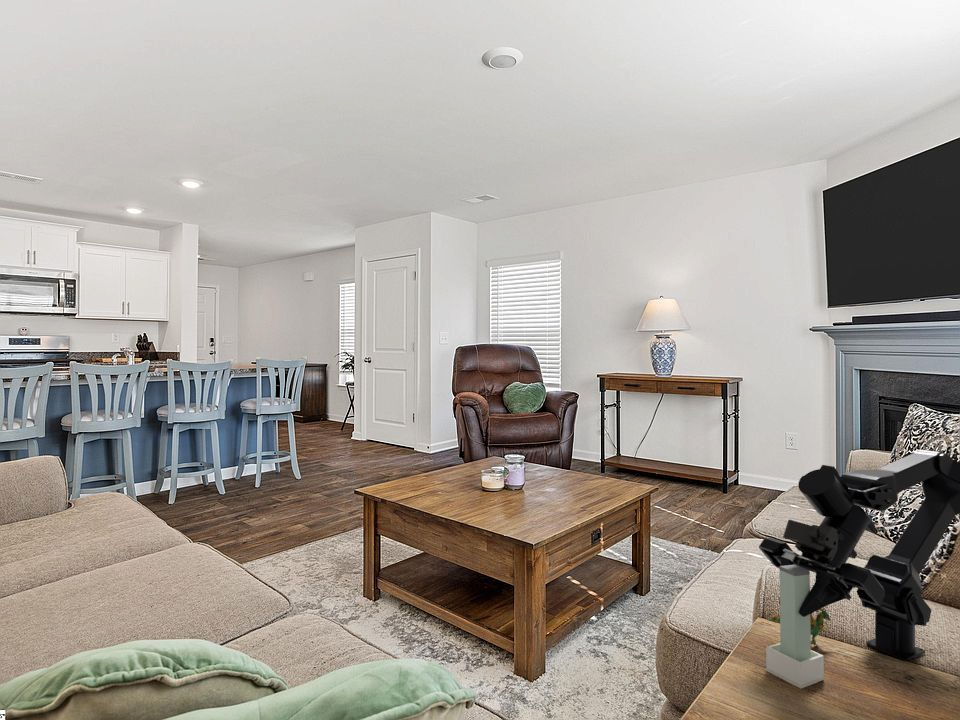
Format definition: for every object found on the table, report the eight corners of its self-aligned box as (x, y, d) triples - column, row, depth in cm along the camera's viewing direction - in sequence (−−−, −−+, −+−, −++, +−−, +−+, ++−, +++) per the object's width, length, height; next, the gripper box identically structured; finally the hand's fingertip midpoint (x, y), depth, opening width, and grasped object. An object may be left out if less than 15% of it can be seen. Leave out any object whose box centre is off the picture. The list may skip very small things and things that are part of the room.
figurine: (836, 648, 98) (836, 601, 99) (773, 650, 97) (773, 603, 97) (824, 640, 101) (823, 594, 102) (762, 642, 100) (762, 596, 100)
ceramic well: (788, 662, 93) (788, 639, 93) (823, 679, 88) (823, 655, 88) (766, 670, 90) (766, 647, 91) (800, 688, 85) (800, 663, 85)
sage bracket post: (795, 650, 91) (794, 564, 92) (810, 659, 88) (809, 570, 89) (780, 652, 90) (779, 566, 91) (795, 662, 87) (794, 572, 88)
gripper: (765, 491, 100) (719, 560, 96) (871, 516, 83) (820, 602, 79) (797, 531, 103) (753, 599, 99) (906, 563, 86) (858, 648, 81)
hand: (791, 610), depth 89 cm, fingers closed on sage bracket post, 3 cm apart
